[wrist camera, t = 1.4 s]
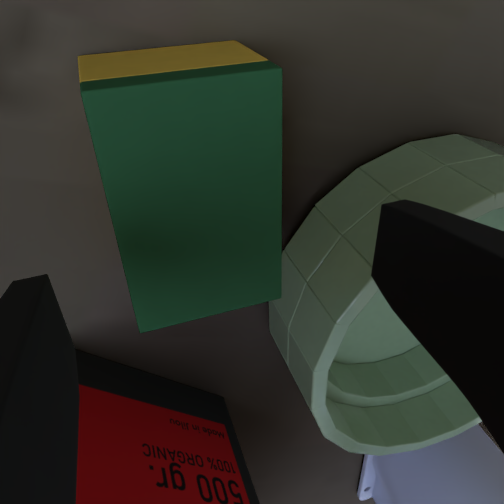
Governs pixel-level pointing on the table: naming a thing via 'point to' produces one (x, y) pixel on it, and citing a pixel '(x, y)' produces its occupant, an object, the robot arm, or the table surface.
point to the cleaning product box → (154, 441)
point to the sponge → (190, 175)
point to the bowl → (377, 300)
